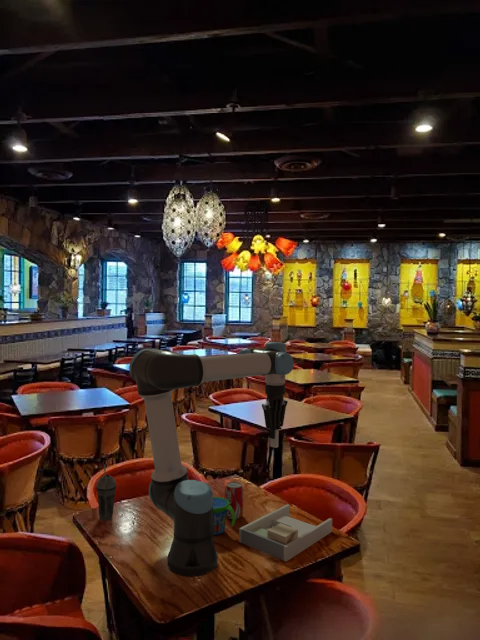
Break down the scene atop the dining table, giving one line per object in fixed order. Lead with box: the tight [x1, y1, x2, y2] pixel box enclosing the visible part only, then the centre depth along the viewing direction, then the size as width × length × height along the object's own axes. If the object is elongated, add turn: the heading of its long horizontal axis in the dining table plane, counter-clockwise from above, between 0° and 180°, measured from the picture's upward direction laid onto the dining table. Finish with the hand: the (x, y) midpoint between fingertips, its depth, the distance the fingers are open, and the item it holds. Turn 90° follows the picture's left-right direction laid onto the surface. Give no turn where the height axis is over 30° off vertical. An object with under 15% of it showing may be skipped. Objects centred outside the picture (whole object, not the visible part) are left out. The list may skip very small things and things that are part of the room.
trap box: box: [238, 503, 333, 562], centre depth 168 cm, size 28×19×4 cm
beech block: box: [267, 523, 298, 545], centre depth 158 cm, size 7×7×4 cm
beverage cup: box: [95, 464, 118, 522], centre depth 179 cm, size 7×7×20 cm
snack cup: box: [212, 496, 236, 536], centre depth 171 cm, size 16×10×10 cm
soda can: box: [224, 481, 245, 520], centre depth 183 cm, size 7×7×12 cm
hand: (274, 446), depth 183 cm, fingers closed
